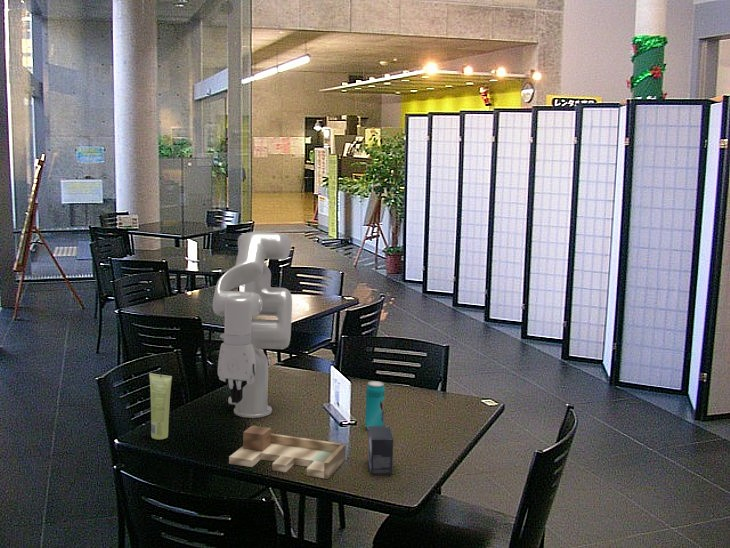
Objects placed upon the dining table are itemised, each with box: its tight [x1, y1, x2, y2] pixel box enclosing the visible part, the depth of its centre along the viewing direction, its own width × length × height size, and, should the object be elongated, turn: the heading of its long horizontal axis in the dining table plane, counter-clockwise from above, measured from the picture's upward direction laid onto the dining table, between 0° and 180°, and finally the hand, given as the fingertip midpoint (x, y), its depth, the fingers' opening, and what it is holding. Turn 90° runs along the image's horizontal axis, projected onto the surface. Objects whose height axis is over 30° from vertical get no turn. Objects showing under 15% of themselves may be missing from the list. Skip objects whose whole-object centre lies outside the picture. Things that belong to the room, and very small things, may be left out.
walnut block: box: [242, 425, 272, 452], centre depth 235 cm, size 6×6×5 cm
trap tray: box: [228, 433, 347, 480], centre depth 230 cm, size 30×15×4 cm, turn 74°
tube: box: [148, 372, 173, 440], centre depth 244 cm, size 6×5×20 cm
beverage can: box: [365, 380, 386, 431], centre depth 258 cm, size 6×6×15 cm
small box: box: [367, 425, 395, 476], centre depth 228 cm, size 11×6×10 cm, turn 5°
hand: (236, 401), depth 234 cm, fingers closed
